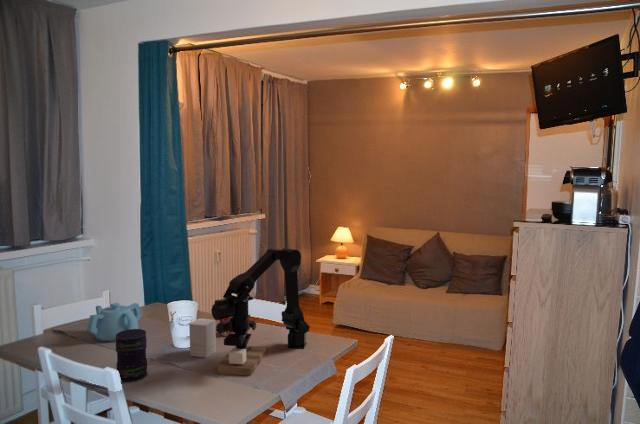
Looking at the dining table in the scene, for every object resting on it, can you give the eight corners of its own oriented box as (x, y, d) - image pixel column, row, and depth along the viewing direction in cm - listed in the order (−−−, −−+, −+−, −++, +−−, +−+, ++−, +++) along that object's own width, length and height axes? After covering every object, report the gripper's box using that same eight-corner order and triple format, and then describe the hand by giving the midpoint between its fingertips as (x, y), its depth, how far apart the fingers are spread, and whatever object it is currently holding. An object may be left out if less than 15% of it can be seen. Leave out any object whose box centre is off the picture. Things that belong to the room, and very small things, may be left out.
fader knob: (232, 359, 175) (232, 348, 174) (246, 359, 174) (246, 349, 173) (229, 363, 171) (228, 352, 170) (242, 364, 170) (242, 353, 169)
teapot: (143, 327, 217) (141, 296, 216) (134, 342, 199) (133, 309, 197) (97, 329, 214) (95, 299, 213) (84, 345, 195) (82, 312, 194)
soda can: (238, 331, 212) (238, 302, 210) (234, 337, 205) (233, 307, 203) (222, 330, 212) (222, 301, 211) (217, 336, 205) (216, 306, 204)
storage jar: (135, 367, 174) (133, 327, 172) (154, 373, 169) (152, 331, 168) (110, 378, 165) (108, 335, 164) (129, 384, 160) (128, 341, 159)
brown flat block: (236, 351, 189) (236, 344, 189) (266, 353, 187) (266, 346, 187) (217, 373, 170) (217, 365, 169) (250, 375, 168) (250, 368, 167)
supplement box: (216, 351, 190) (216, 319, 188) (206, 358, 183) (205, 325, 181) (200, 348, 192) (199, 317, 191) (189, 355, 185) (188, 323, 184)
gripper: (228, 304, 185) (228, 344, 186) (208, 321, 166) (209, 364, 168) (256, 306, 183) (256, 346, 185) (240, 322, 165) (240, 367, 166)
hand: (241, 355), depth 176 cm, fingers closed
